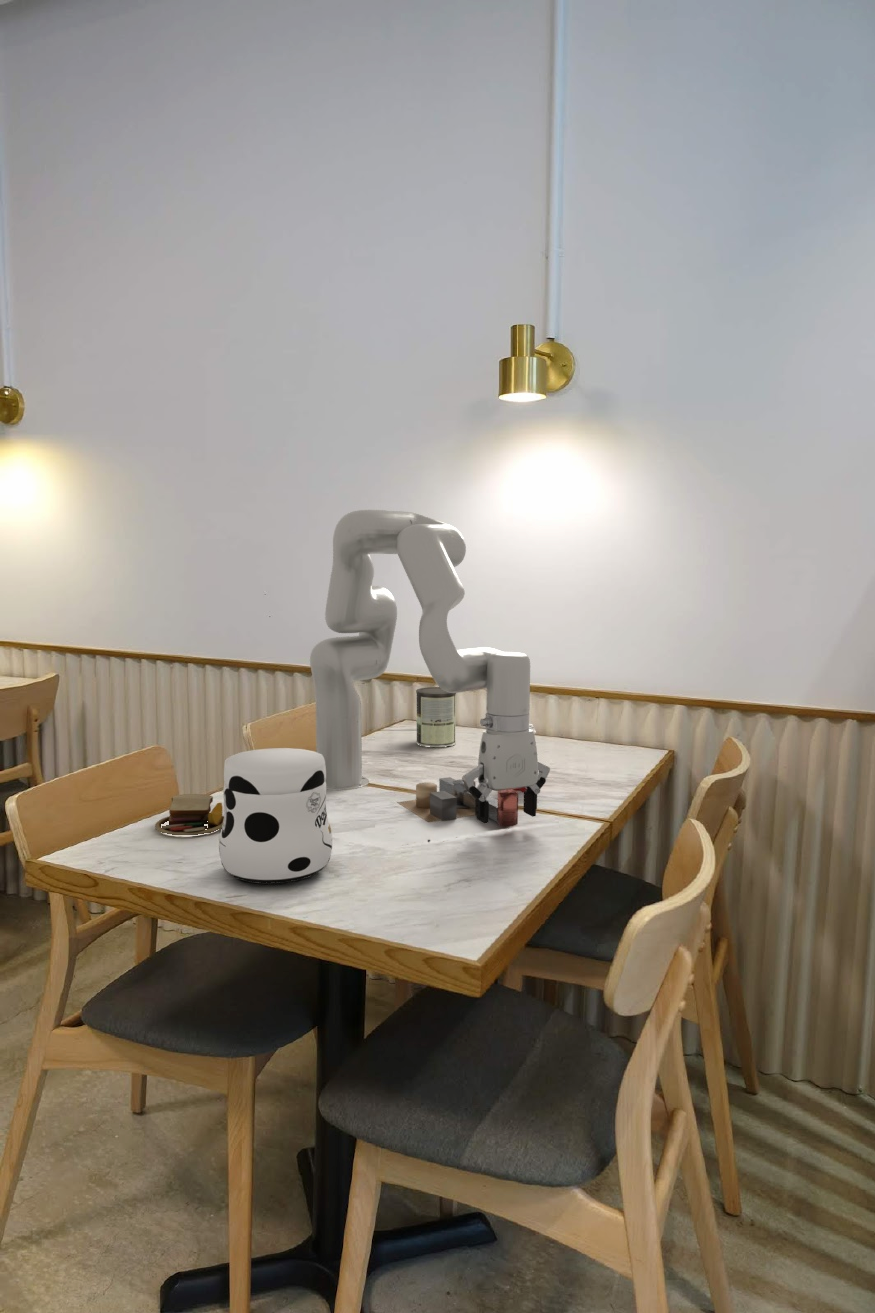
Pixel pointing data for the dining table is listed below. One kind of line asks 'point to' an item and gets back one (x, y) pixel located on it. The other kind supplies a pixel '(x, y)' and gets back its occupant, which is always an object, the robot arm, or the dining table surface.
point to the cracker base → (426, 811)
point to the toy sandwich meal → (191, 815)
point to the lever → (499, 809)
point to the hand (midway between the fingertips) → (506, 817)
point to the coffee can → (435, 717)
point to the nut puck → (424, 794)
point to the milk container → (275, 815)
